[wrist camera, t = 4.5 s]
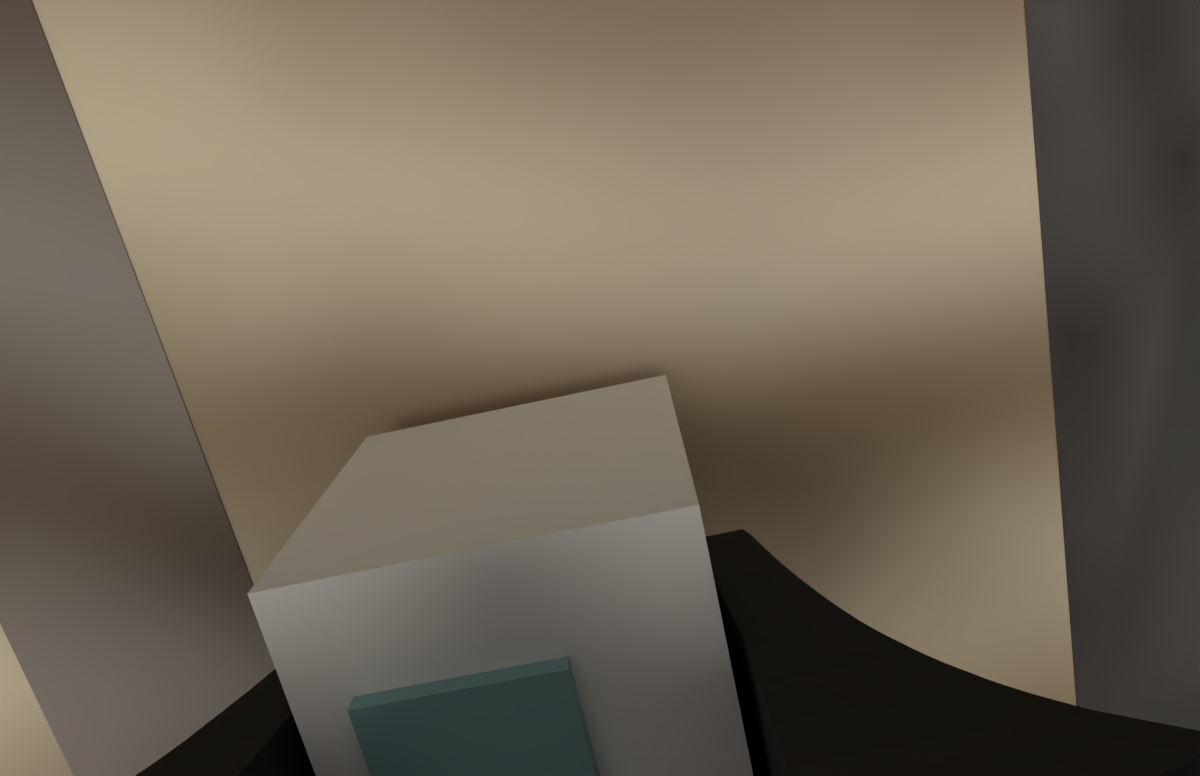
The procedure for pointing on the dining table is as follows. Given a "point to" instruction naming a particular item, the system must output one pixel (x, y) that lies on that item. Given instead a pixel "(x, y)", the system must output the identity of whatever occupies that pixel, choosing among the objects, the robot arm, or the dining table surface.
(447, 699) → the block
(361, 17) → the subfloor panel
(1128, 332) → the dining table surface
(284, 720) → the robot arm
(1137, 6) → the dining table surface
